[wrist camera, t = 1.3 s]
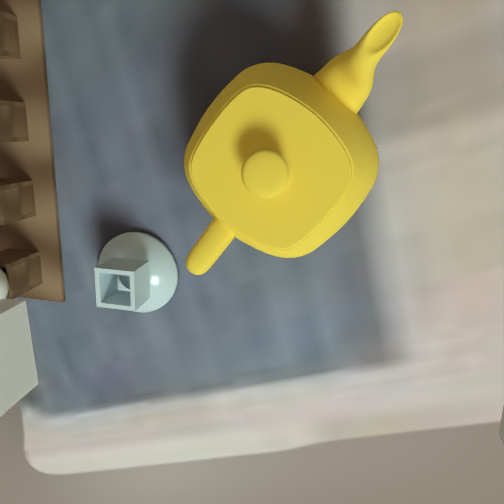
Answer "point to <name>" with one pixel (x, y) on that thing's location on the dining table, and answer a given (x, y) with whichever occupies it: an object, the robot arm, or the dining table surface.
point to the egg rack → (27, 159)
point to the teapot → (286, 153)
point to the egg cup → (135, 273)
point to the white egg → (3, 285)
